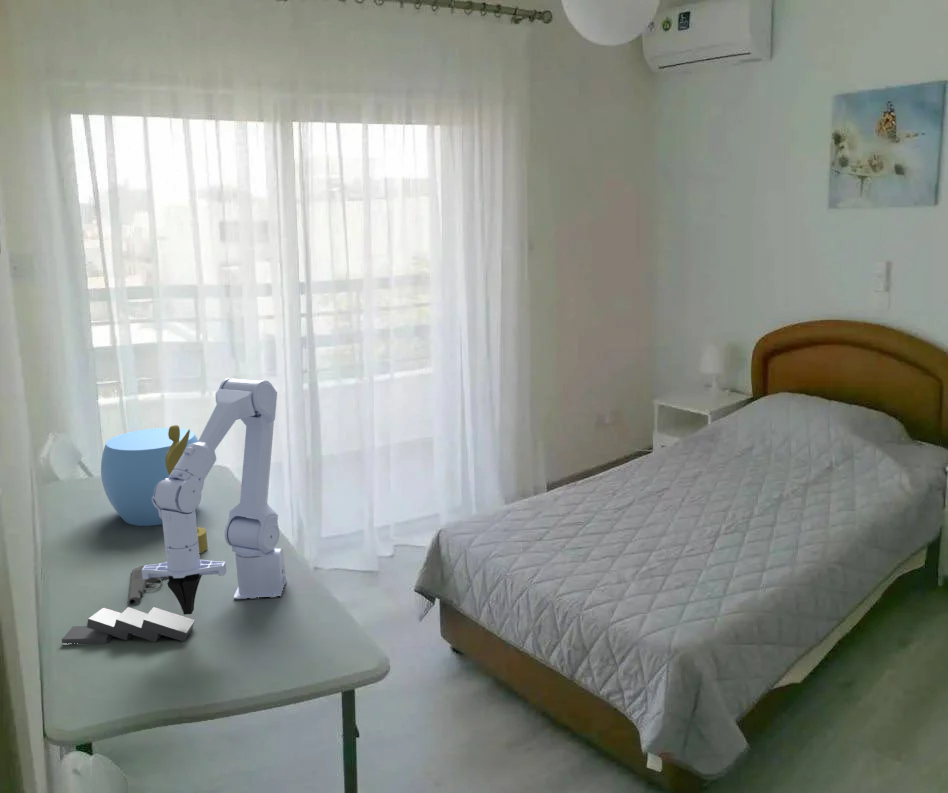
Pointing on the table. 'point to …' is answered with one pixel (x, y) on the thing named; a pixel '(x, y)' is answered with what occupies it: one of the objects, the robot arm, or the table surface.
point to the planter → (137, 472)
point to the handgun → (140, 585)
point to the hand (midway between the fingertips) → (188, 611)
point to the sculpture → (171, 461)
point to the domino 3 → (168, 624)
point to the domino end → (85, 636)
